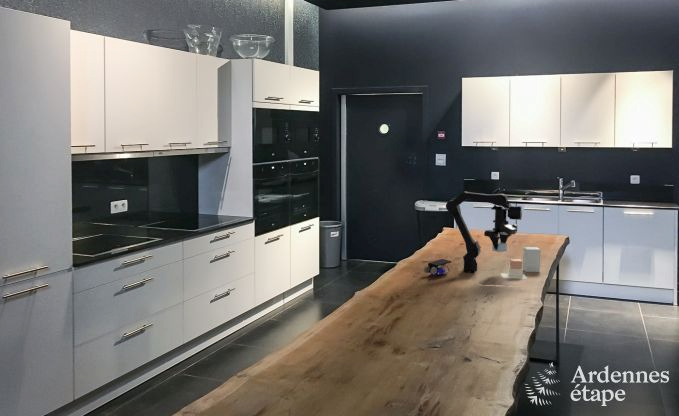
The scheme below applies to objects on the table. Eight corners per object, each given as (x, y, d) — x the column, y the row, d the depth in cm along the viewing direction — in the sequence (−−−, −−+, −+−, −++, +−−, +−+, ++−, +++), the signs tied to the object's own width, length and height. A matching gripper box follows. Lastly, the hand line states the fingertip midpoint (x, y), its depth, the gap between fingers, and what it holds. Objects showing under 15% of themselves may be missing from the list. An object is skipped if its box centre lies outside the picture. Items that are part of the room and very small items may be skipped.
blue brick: (492, 250, 343) (492, 242, 343) (498, 249, 346) (499, 241, 346) (500, 252, 339) (500, 244, 339) (506, 251, 342) (506, 243, 342)
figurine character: (433, 281, 333) (452, 273, 343) (433, 266, 331) (452, 259, 341) (423, 279, 338) (441, 271, 348) (422, 264, 336) (441, 257, 346)
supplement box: (539, 273, 347) (541, 249, 345) (525, 273, 347) (526, 249, 345) (536, 270, 354) (537, 246, 352) (521, 270, 354) (523, 246, 352)
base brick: (510, 276, 335) (510, 269, 334) (508, 274, 341) (508, 266, 340) (522, 277, 334) (522, 269, 334) (520, 274, 340) (521, 266, 340)
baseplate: (502, 279, 332) (502, 277, 332) (500, 274, 342) (500, 273, 342) (527, 280, 331) (527, 278, 331) (524, 275, 341) (524, 274, 341)
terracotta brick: (509, 266, 340) (510, 258, 339) (520, 267, 339) (520, 259, 339) (511, 268, 335) (511, 261, 334) (521, 269, 334) (522, 261, 334)
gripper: (502, 222, 329) (500, 253, 331) (525, 218, 340) (523, 249, 342) (484, 219, 337) (482, 250, 339) (507, 216, 349) (505, 245, 351)
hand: (499, 248), depth 343 cm, fingers closed on blue brick, 5 cm apart
